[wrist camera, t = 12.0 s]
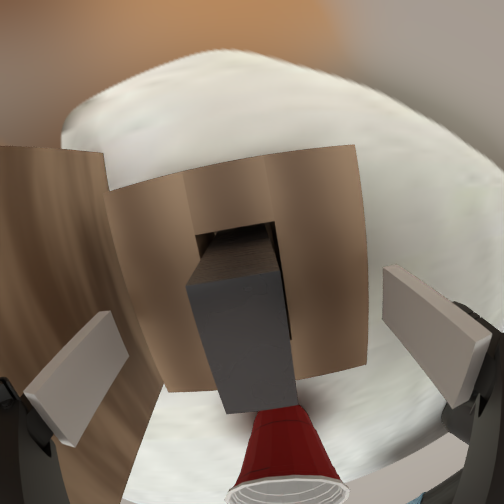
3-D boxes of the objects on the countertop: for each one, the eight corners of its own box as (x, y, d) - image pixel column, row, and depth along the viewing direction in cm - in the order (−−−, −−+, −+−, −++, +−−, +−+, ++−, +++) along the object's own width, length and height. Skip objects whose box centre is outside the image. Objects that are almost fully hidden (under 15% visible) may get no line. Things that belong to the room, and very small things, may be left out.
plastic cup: (254, 372, 25) (255, 477, 13) (344, 395, 26) (375, 481, 14) (217, 430, 27) (207, 514, 16) (297, 447, 28) (307, 522, 17)
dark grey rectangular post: (262, 217, 20) (279, 270, 8) (274, 292, 21) (298, 404, 10) (221, 224, 20) (184, 285, 8) (237, 298, 22) (226, 414, 10)
